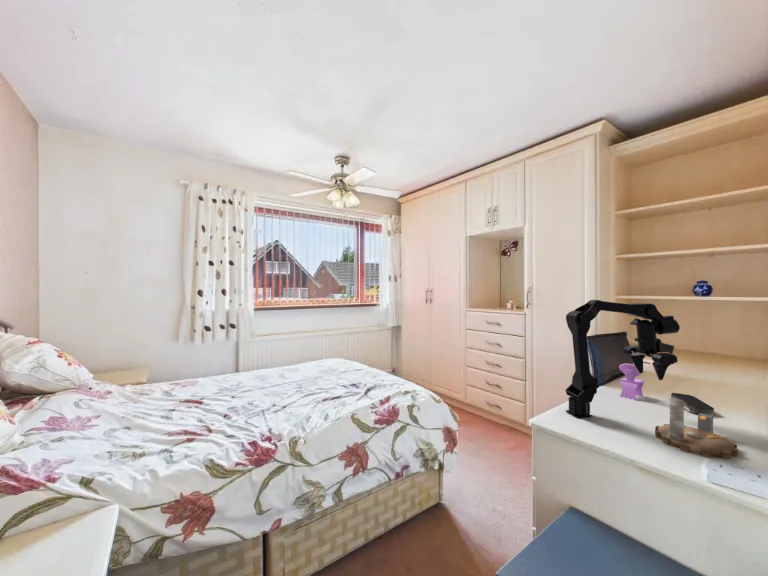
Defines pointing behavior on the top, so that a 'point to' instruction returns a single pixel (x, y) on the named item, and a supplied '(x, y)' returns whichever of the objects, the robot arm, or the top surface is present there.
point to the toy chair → (631, 382)
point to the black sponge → (694, 404)
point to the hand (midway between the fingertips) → (650, 376)
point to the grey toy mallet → (705, 422)
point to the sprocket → (693, 436)
